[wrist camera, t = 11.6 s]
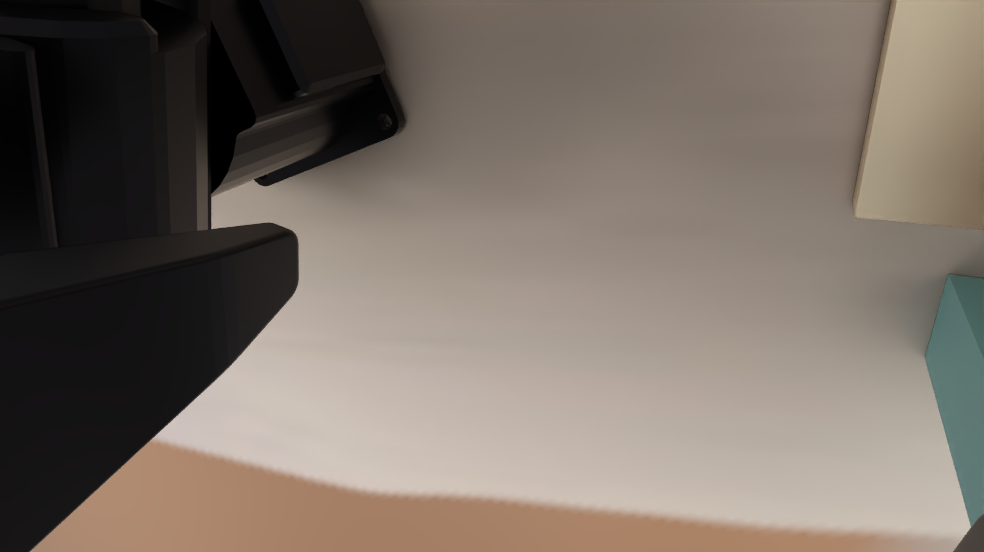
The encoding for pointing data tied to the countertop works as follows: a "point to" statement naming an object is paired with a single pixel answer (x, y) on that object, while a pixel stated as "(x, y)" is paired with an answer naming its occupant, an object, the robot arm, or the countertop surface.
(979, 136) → the rack
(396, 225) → the countertop surface
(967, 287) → the teal panel
